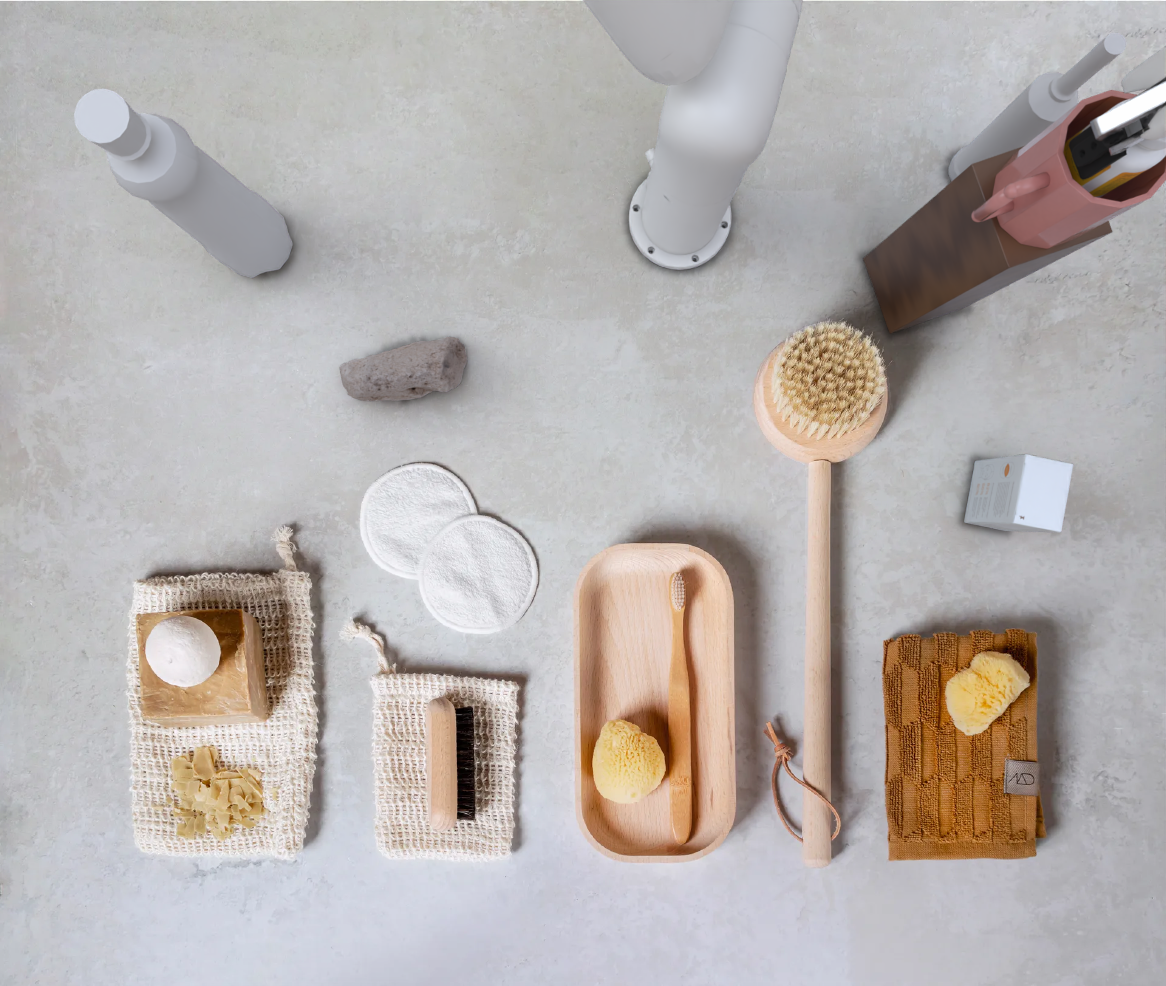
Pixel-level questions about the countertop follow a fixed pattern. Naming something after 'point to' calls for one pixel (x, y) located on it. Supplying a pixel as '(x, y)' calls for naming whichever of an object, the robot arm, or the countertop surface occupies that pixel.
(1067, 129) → the pink octagonal mug
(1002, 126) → the bottle
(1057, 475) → the small box
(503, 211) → the countertop surface
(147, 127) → the bottle
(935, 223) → the stand
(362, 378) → the pumice stone
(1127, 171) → the supplement bottle
